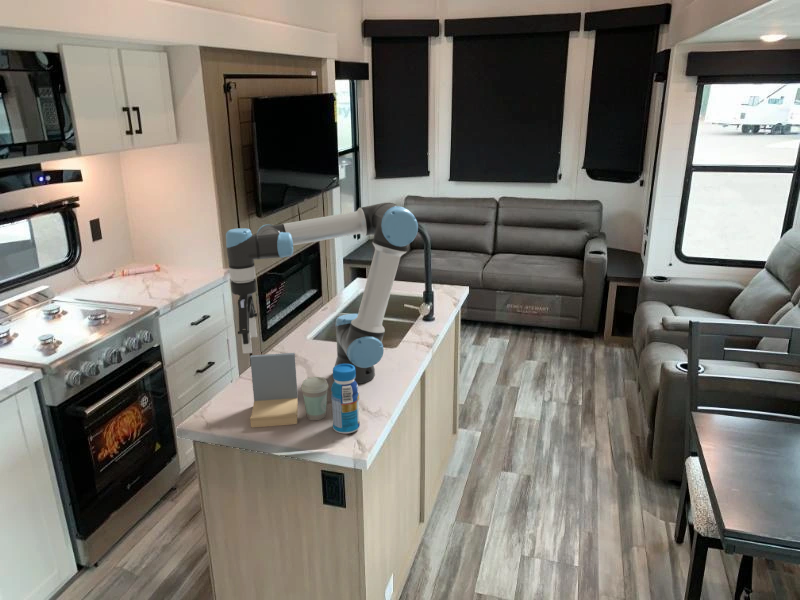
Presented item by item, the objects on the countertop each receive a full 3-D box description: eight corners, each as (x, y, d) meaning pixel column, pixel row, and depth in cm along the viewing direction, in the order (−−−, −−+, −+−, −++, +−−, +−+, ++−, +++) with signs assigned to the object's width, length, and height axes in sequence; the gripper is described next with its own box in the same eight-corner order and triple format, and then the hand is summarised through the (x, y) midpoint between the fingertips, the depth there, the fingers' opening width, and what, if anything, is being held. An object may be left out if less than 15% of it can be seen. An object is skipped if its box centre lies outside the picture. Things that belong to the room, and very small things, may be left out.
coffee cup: (325, 423, 183) (323, 388, 180) (299, 421, 185) (296, 386, 181) (333, 410, 191) (331, 377, 188) (308, 408, 193) (306, 374, 189)
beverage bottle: (327, 431, 179) (324, 370, 173) (341, 418, 186) (338, 360, 180) (352, 437, 175) (349, 375, 169) (364, 424, 183) (363, 364, 177)
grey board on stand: (298, 402, 197) (294, 352, 191) (297, 424, 183) (293, 371, 177) (255, 405, 195) (250, 355, 189) (250, 428, 181) (245, 374, 175)
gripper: (236, 270, 191) (243, 331, 197) (223, 292, 167) (232, 361, 174) (260, 268, 192) (266, 330, 198) (250, 290, 168) (258, 359, 174)
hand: (250, 344), depth 186 cm, fingers open, 13 cm apart
